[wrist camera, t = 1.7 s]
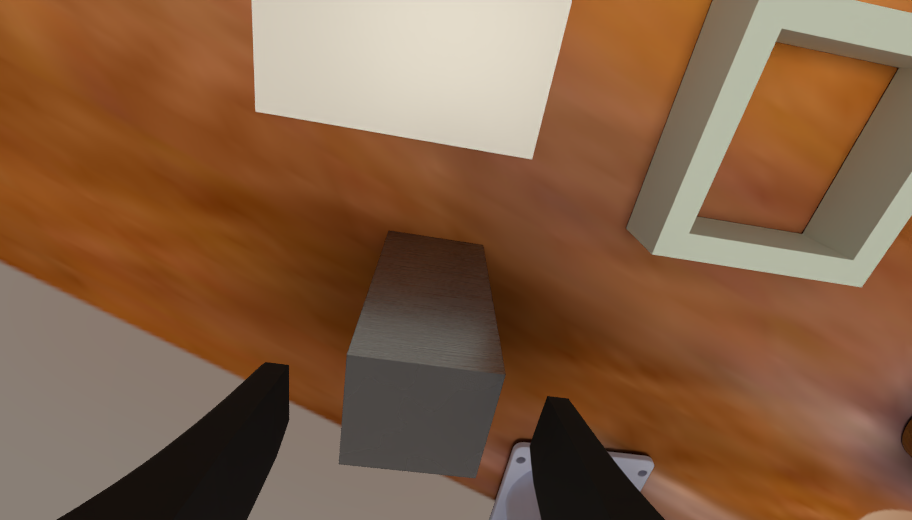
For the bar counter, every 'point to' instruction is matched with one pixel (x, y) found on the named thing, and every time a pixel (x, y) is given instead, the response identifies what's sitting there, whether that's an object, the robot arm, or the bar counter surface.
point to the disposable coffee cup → (908, 438)
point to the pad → (412, 67)
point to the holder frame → (716, 119)
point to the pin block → (423, 361)
